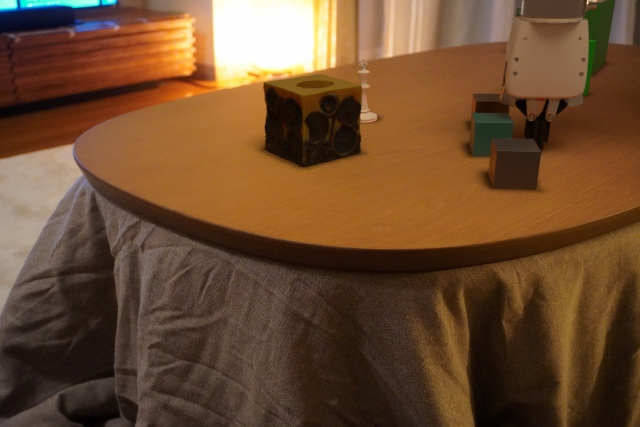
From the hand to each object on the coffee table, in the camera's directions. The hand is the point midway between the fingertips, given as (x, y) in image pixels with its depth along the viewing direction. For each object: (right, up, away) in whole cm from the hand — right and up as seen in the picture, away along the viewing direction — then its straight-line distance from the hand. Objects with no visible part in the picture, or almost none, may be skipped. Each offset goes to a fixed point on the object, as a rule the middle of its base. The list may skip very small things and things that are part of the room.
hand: (534, 146), depth 86 cm
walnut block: (-3, +4, +12) cm, 13 cm away
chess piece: (-23, +6, +18) cm, 30 cm away
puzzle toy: (+14, +13, +31) cm, 36 cm away
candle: (-31, -1, +2) cm, 31 cm away
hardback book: (+29, +23, +53) cm, 65 cm away
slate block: (-6, -6, -10) cm, 13 cm away
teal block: (-6, -1, +1) cm, 6 cm away
